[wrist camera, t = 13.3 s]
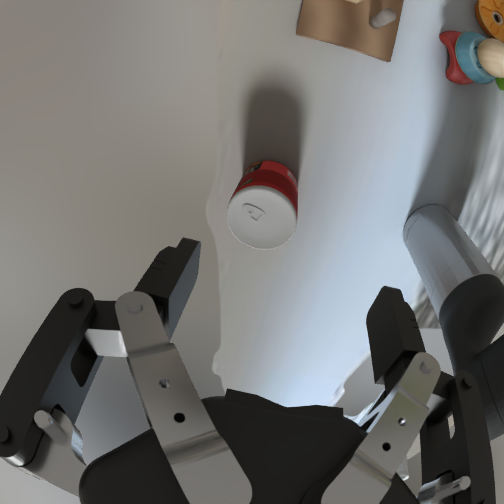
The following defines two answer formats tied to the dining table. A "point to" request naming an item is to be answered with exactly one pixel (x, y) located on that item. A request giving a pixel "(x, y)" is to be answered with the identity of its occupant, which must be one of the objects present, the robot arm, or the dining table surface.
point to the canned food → (264, 206)
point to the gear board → (353, 24)
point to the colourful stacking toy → (478, 48)
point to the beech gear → (355, 1)
